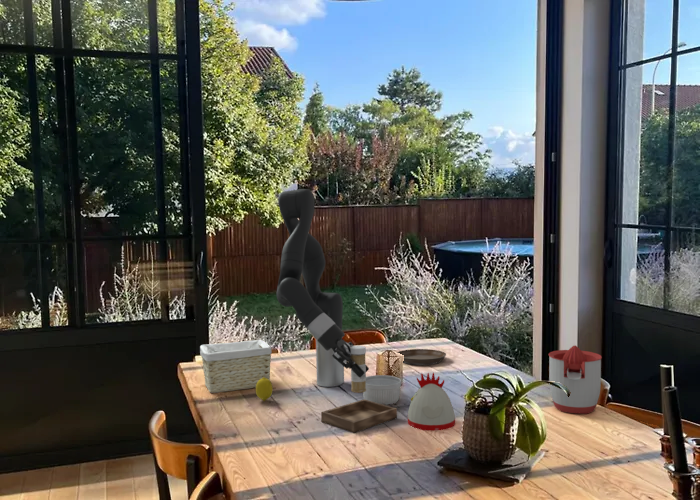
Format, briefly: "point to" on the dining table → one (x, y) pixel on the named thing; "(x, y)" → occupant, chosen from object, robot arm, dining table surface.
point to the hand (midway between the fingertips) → (364, 373)
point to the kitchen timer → (431, 406)
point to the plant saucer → (422, 356)
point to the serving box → (358, 415)
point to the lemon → (264, 388)
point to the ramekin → (382, 389)
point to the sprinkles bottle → (359, 358)
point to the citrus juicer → (575, 379)
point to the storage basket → (235, 365)
